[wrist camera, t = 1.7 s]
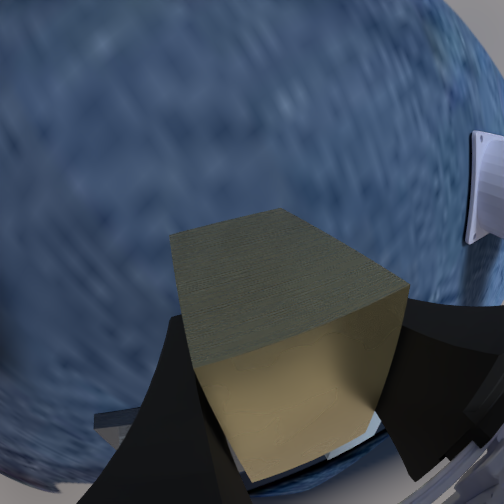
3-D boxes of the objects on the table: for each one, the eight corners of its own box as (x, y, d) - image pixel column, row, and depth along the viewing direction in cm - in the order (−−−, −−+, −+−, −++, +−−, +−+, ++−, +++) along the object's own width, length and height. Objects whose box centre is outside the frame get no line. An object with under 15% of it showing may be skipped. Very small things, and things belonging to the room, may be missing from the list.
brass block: (281, 207, 10) (410, 284, 4) (292, 334, 12) (365, 432, 7) (169, 235, 9) (192, 368, 4) (208, 361, 11) (252, 482, 6)
